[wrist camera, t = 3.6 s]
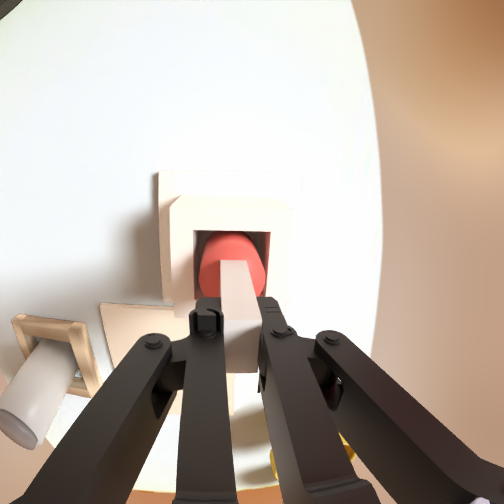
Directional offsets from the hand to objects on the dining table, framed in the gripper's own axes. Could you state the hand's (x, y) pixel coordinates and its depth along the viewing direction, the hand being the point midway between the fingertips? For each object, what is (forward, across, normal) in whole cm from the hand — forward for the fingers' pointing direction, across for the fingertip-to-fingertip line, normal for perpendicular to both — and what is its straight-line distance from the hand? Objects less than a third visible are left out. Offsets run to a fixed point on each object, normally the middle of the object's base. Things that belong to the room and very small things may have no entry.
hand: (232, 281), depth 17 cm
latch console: (+9, 0, 0) cm, 9 cm away
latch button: (+5, 0, 0) cm, 5 cm away
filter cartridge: (+9, -21, -15) cm, 27 cm away
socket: (+9, -21, -15) cm, 27 cm away
